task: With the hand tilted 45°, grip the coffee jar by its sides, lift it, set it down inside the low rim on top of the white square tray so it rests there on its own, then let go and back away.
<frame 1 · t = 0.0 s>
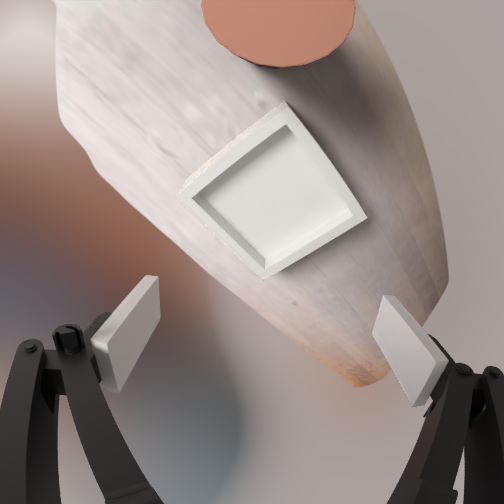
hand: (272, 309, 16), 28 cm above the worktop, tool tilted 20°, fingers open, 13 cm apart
white square tray: (273, 185, 41), on the worktop
coffee jar: (273, 31, 28), on the worktop
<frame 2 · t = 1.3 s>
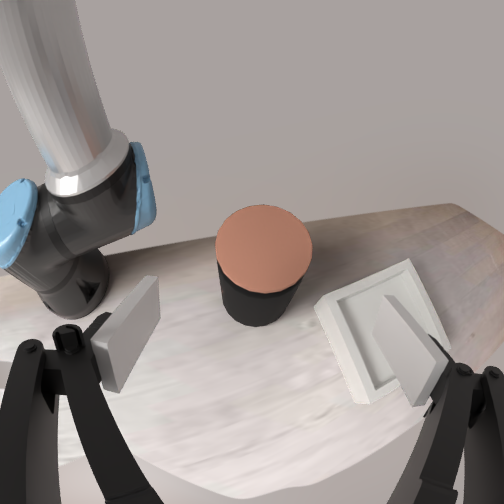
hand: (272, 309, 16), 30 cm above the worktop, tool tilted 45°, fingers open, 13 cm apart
white square tray: (377, 334, 45), on the worktop
coffee jar: (254, 297, 47), on the worktop
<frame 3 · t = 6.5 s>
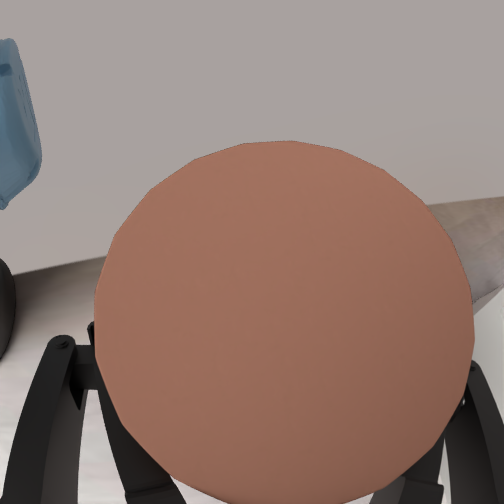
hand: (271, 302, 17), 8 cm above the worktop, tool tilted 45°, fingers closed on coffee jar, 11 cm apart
white square tray: (459, 404, 21), on the worktop
coffee jar: (258, 364, 23), on the worktop, touching gripper
when the fingers open (13 cm above the worktop, at t = 15.6 s): coffee jar drops 1 cm, resting on white square tray.
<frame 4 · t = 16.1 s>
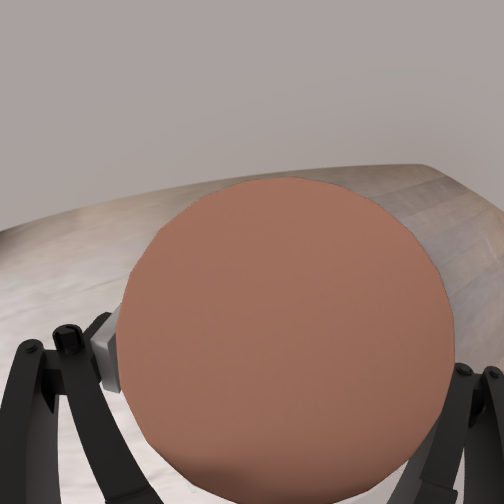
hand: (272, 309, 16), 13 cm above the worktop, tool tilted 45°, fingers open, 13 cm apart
coffee jar: (257, 368, 24), point 3 cm above the worktop, touching white square tray
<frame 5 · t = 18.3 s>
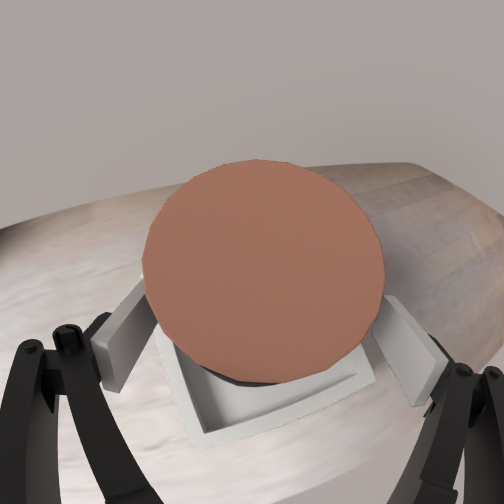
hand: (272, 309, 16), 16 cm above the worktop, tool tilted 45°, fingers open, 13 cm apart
white square tray: (251, 343, 31), on the worktop, touching coffee jar
coffee jar: (249, 335, 28), point 3 cm above the worktop, touching white square tray
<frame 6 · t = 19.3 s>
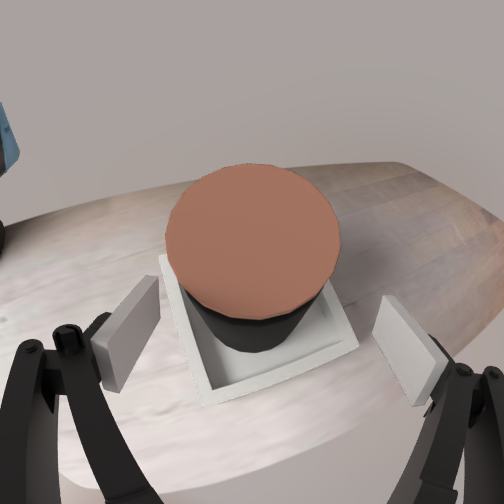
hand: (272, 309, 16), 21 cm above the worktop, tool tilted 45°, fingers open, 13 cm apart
white square tray: (252, 317, 37), on the worktop, touching coffee jar
coffee jar: (251, 309, 33), point 3 cm above the worktop, touching white square tray
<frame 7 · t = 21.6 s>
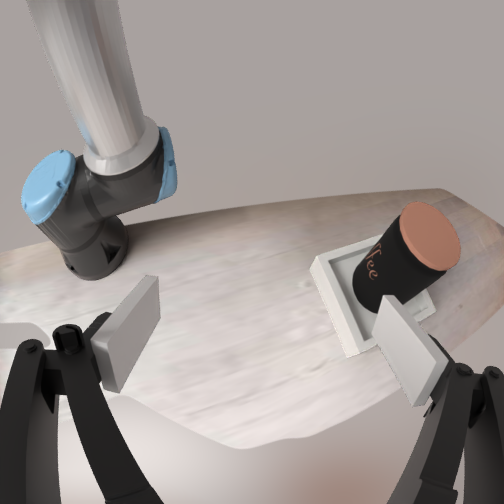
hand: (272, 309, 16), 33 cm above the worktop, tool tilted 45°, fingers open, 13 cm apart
white square tray: (367, 297, 52), on the worktop
coffee jar: (374, 289, 48), point 4 cm above the worktop
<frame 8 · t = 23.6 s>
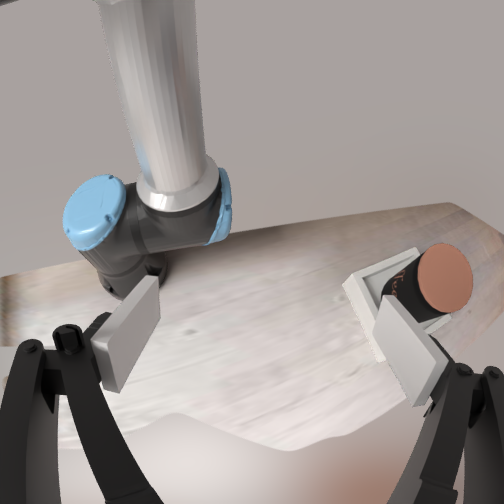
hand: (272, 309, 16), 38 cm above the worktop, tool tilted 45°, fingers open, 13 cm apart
white square tray: (392, 307, 56), on the worktop, touching coffee jar
coffee jar: (401, 301, 52), point 4 cm above the worktop, touching white square tray
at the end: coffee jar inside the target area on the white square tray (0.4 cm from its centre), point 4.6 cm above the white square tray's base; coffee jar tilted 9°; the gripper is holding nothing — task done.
